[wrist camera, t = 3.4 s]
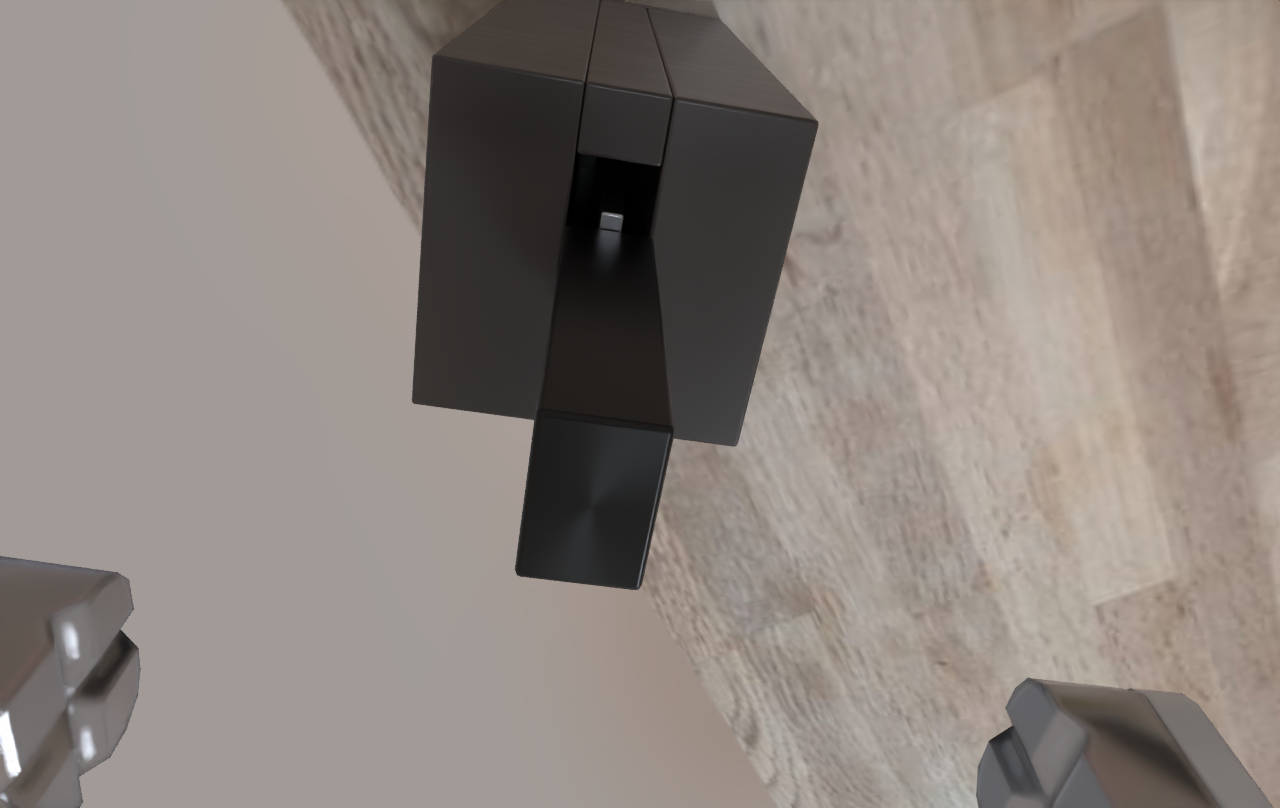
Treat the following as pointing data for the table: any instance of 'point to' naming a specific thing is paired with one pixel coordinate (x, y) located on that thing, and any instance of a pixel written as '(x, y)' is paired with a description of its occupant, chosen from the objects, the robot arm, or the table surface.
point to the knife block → (563, 193)
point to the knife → (599, 407)
